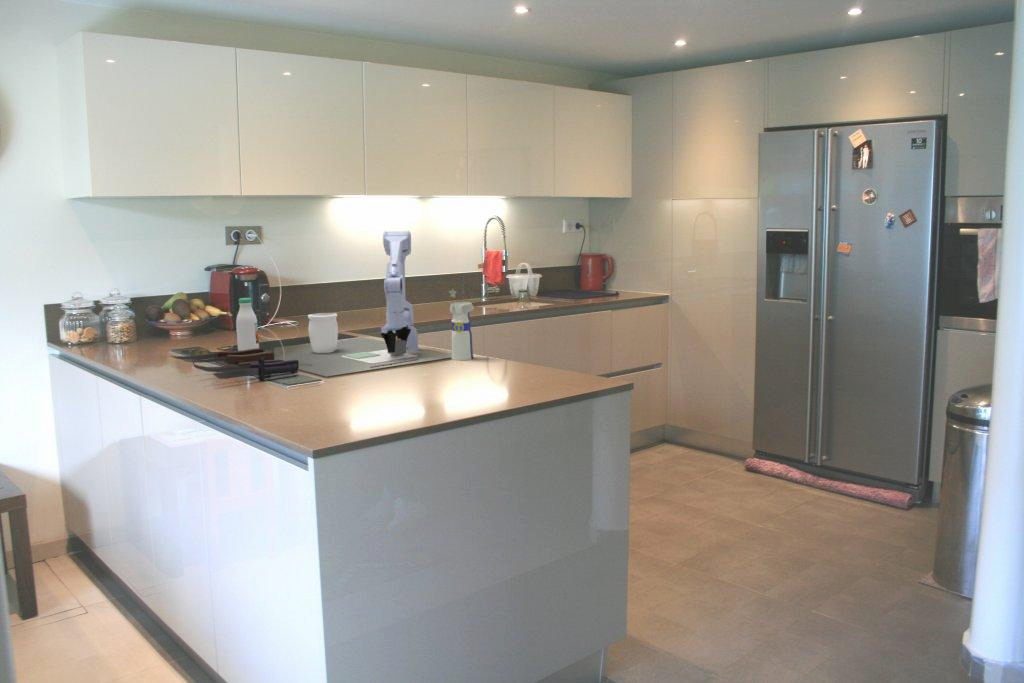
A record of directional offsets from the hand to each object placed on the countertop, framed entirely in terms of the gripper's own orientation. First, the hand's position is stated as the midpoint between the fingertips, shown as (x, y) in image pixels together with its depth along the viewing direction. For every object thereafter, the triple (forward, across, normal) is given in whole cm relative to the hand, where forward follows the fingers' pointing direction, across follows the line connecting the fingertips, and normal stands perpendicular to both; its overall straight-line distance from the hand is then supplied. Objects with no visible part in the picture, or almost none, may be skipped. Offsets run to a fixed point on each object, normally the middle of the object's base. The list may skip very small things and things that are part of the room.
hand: (396, 350), depth 289 cm
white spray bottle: (+4, -12, +20) cm, 23 cm away
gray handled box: (+1, 0, 0) cm, 1 cm away
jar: (+4, +1, -31) cm, 32 cm away
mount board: (+3, +2, -6) cm, 7 cm away
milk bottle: (+4, +3, -66) cm, 66 cm away
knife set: (+4, +39, -35) cm, 53 cm away
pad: (+2, +4, -12) cm, 13 cm away
